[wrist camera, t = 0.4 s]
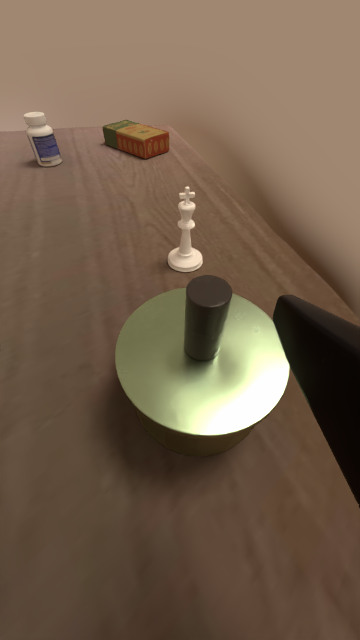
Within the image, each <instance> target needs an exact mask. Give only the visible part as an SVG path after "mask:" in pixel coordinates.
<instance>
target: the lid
mask: <svg viewBox="0 0 360 640" xmlns="http://www.w3.org/2000/svg"><path fill="white" fill-rule="evenodd" d="M115 365H116V370H117V375H118V378H119V381H120V383H121V386H122V388H123V391H124V392H125V394H126V396H127V397H128V399H129V400H130V402H131V403H132V404H133V405H134V407H135V408H136V409H137V410H138V411H139V412H140V413H141V414H142V415H143V416H144V417H146V418H147V419H148V420H150V421H151V422H153V423H154V424H156V425H157V426H159V427H161V428H163V429H165V430H167V431H170V432H173V433H176V434H179V435H182V436H187V437H192V438H204V439H211V438H223V437H227V436H231V435H235V434H238V433H241V432H243V431H246V430H248V429H250V428H251V427H253V426H255V425H256V424H258V423H259V422H261V421H262V420H263V419H264V418H266V417H267V416H268V415H269V414H270V412H271V411H272V410H273V409H274V408H275V407H276V405H277V404H278V403H279V401H280V399H281V398H282V396H283V394H284V392H285V389H286V387H287V384H288V379H289V373H290V365H289V363H288V361H287V359H286V356H285V353H284V351H283V348H282V345H281V342H280V339H279V337H278V334H277V331H276V328H275V325H274V322H273V321H272V319H271V318H270V317H269V316H268V315H267V314H266V313H265V312H264V311H262V310H261V309H260V308H259V307H257V306H256V305H255V304H253V303H252V302H250V301H248V300H246V299H245V298H243V297H241V296H238V295H236V294H233V293H232V289H231V287H230V285H229V284H228V283H227V282H226V281H225V280H223V279H221V278H219V277H216V276H211V275H204V276H199V277H196V278H194V279H192V280H191V281H190V282H189V283H188V285H187V287H186V288H179V289H175V290H171V291H168V292H165V293H162V294H160V295H157V296H155V297H153V298H151V299H150V300H148V301H146V302H145V303H144V304H142V305H141V306H140V307H138V308H137V309H136V310H135V311H134V312H133V313H132V314H131V316H130V317H129V318H128V319H127V321H126V322H125V324H124V326H123V327H122V329H121V332H120V334H119V337H118V340H117V344H116V351H115Z"/></svg>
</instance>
